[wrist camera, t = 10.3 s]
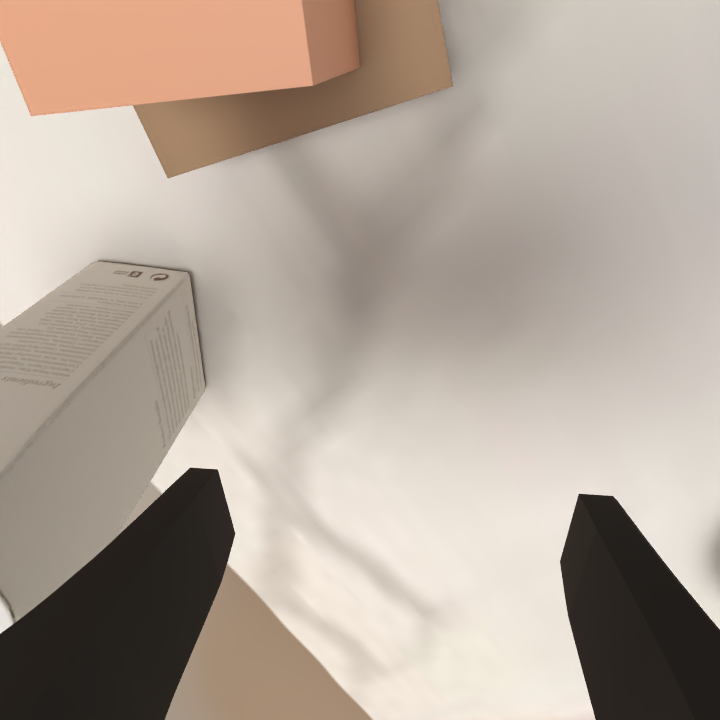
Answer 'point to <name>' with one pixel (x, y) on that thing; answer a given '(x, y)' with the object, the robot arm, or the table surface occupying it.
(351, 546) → the table surface
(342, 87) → the walnut block
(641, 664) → the robot arm
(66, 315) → the skincare box
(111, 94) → the terracotta cube
